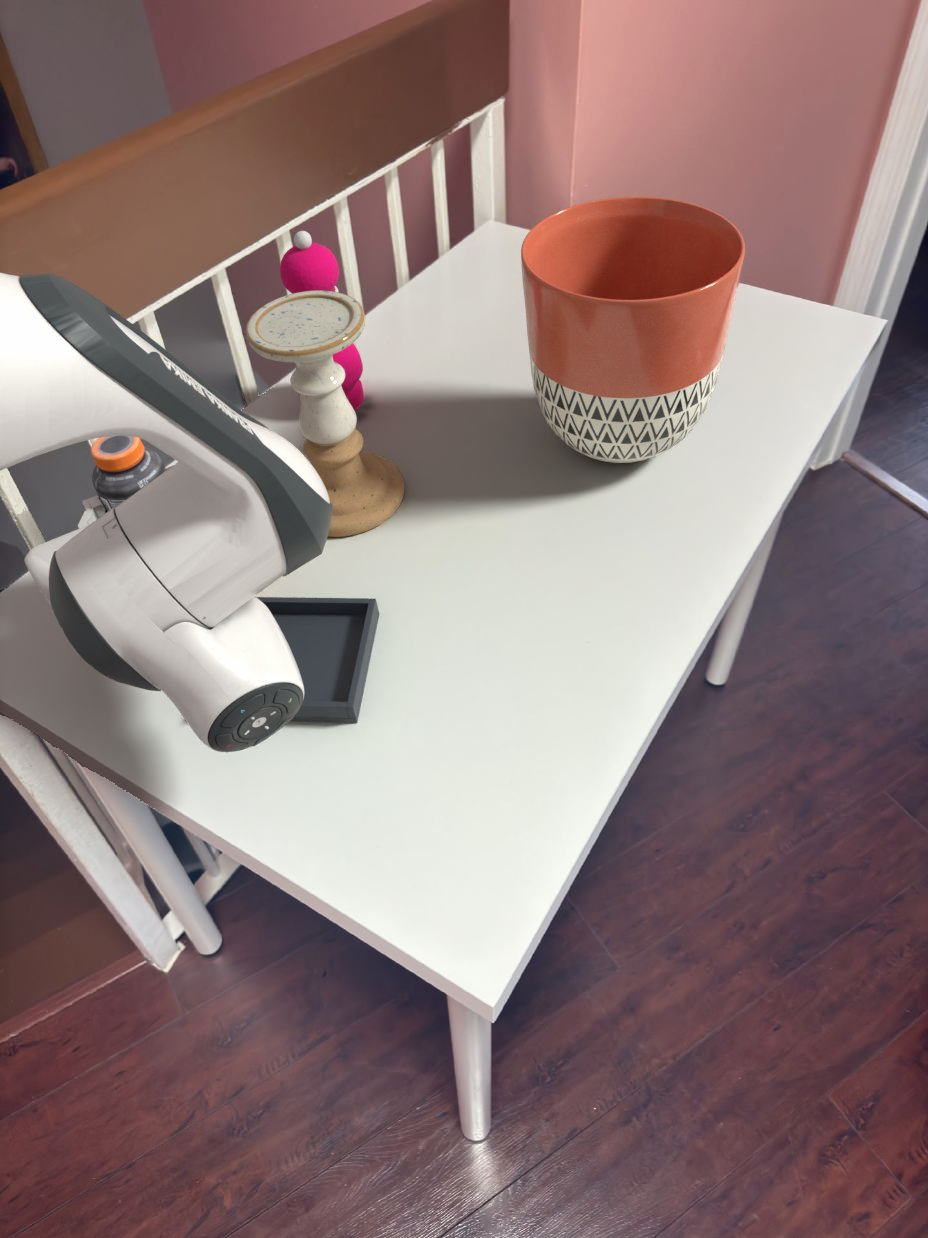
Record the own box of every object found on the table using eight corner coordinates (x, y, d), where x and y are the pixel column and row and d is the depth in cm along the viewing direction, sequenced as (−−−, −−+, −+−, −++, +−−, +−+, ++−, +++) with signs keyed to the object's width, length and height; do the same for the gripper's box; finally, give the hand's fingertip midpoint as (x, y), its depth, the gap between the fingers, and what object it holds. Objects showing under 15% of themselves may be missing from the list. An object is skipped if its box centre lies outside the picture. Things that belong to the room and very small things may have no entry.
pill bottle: (152, 516, 85) (107, 415, 77) (205, 528, 83) (165, 426, 75) (114, 559, 82) (62, 458, 73) (169, 572, 80) (122, 470, 71)
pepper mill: (380, 392, 106) (351, 222, 91) (343, 426, 102) (306, 254, 87) (332, 377, 109) (296, 210, 94) (293, 409, 105) (249, 240, 90)
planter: (496, 474, 94) (483, 278, 78) (569, 373, 105) (571, 184, 89) (679, 522, 87) (705, 318, 71) (737, 409, 98) (771, 211, 82)
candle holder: (306, 456, 99) (261, 282, 84) (416, 463, 96) (389, 284, 82) (270, 534, 91) (212, 356, 76) (389, 542, 89) (353, 361, 74)
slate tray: (216, 719, 76) (209, 704, 74) (251, 612, 84) (245, 596, 82) (357, 723, 74) (353, 707, 73) (379, 614, 82) (376, 598, 81)
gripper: (298, 498, 71) (236, 413, 79) (36, 609, 65) (-1, 504, 73) (315, 557, 75) (254, 470, 84) (72, 664, 70) (33, 560, 78)
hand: (133, 487), depth 79 cm, fingers closed on pill bottle, 6 cm apart
